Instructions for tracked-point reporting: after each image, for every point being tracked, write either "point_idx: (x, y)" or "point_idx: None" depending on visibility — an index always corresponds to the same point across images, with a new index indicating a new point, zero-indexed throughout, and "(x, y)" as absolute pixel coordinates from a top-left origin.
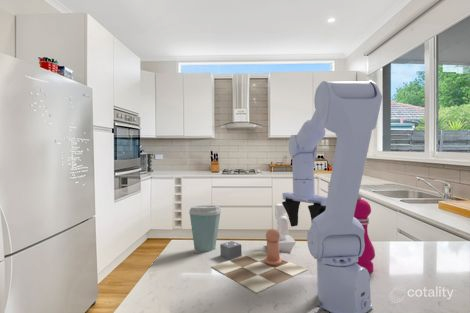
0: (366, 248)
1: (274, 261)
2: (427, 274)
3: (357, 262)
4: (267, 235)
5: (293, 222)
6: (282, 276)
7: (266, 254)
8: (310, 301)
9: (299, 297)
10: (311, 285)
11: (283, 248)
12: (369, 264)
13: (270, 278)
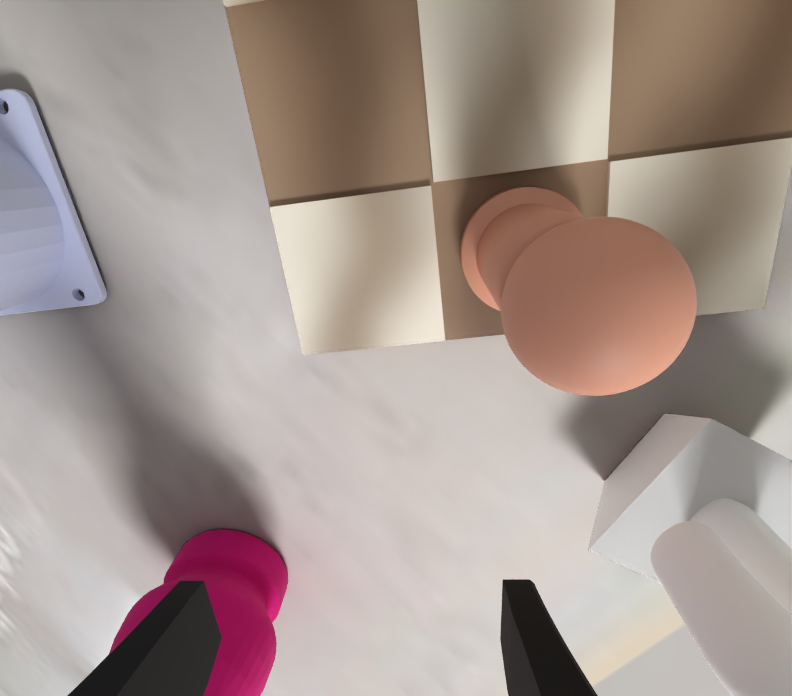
0: None
1: (485, 229)
2: None
3: (190, 574)
4: (614, 221)
5: (511, 640)
6: (305, 145)
7: None
8: (39, 109)
9: (95, 84)
10: (187, 254)
11: (640, 460)
12: None
13: (322, 40)
